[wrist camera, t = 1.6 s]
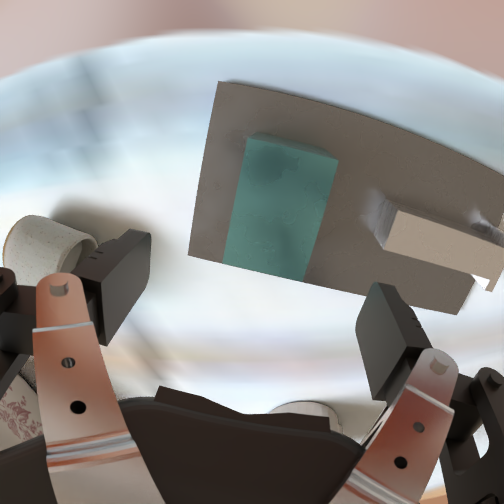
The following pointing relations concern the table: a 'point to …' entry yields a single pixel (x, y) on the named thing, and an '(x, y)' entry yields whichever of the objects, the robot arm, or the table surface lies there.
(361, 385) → the table surface
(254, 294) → the table surface
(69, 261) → the ceramic mug
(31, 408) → the chamber pot
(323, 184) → the block
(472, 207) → the base
